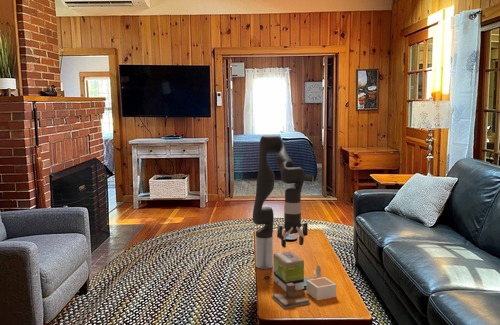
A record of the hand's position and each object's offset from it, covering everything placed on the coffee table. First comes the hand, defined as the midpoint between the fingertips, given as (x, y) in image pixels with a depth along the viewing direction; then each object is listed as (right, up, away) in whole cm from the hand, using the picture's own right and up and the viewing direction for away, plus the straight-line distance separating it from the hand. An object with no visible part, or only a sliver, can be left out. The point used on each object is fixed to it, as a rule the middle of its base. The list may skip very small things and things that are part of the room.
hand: (292, 246), depth 201 cm
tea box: (0, -23, +16) cm, 28 cm away
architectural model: (+15, -22, +24) cm, 36 cm away
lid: (-1, -24, -1) cm, 24 cm away
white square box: (+14, -24, +5) cm, 28 cm away
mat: (-1, -24, -1) cm, 25 cm away
